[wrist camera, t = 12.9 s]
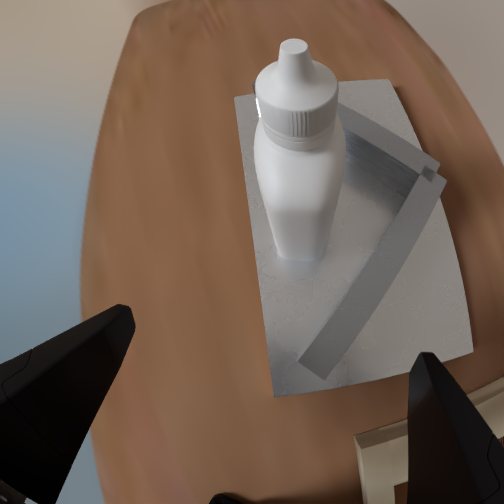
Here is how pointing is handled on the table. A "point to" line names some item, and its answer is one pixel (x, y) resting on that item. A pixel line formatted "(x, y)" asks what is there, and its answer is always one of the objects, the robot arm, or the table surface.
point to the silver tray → (362, 258)
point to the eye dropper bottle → (299, 150)
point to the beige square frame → (396, 446)
